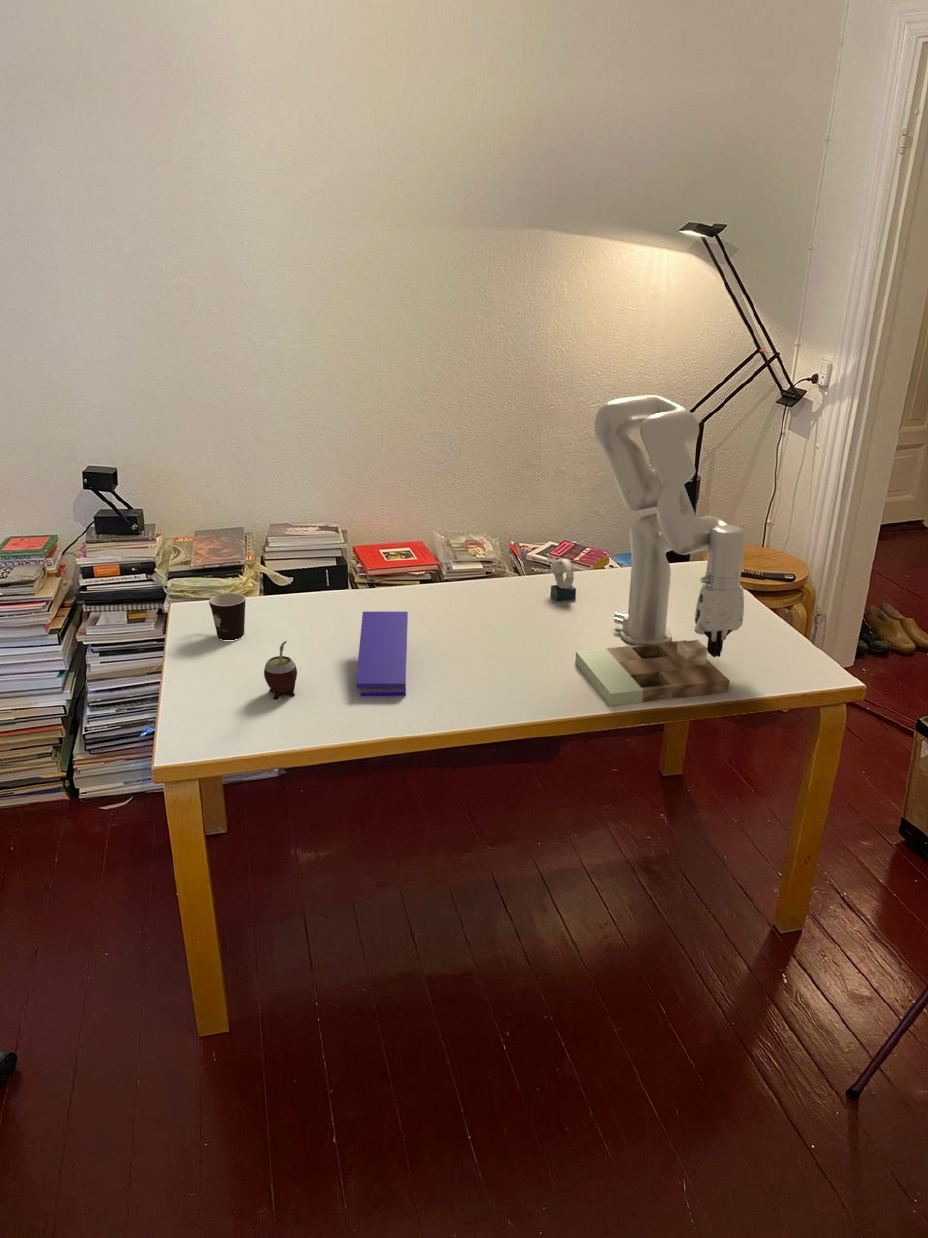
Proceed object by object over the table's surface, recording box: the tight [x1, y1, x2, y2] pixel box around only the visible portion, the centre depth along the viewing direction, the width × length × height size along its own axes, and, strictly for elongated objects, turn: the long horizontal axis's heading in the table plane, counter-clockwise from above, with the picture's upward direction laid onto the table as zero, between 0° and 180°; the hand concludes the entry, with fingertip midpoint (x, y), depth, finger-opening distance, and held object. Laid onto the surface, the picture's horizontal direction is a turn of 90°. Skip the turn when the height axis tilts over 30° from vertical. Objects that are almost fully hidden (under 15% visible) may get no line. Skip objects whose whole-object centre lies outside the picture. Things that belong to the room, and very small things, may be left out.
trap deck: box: [606, 640, 731, 703], centre depth 229 cm, size 20×22×3 cm
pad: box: [574, 647, 643, 707], centre depth 226 cm, size 8×22×3 cm, turn 14°
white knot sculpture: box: [550, 557, 577, 603], centre depth 271 cm, size 6×8×11 cm
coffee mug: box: [208, 592, 246, 640], centre depth 247 cm, size 12×9×10 cm
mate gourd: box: [263, 640, 298, 701], centre depth 217 cm, size 8×8×15 cm
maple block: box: [676, 639, 708, 667], centre depth 229 cm, size 5×5×4 cm
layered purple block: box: [355, 611, 409, 698], centre depth 230 cm, size 12×28×10 cm, turn 3°
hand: (713, 654), depth 231 cm, fingers closed
